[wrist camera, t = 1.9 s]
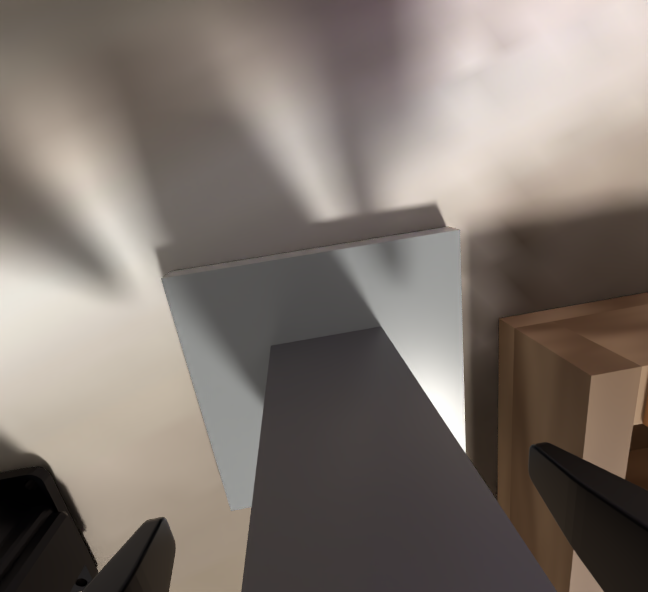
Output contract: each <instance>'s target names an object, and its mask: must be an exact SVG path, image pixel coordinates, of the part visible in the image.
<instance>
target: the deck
mask: <svg viewBox="0 0 648 592" xmlns="http://www.w3.org/2000/svg"><path fill="white" fill-rule="evenodd" d="M161 280H162V283H163V286H164V290H165V293H166V296H167V300H168V303H169V306H170V310H171V313H172V316H173V320H174V323H175V326H176V329H177V333H178V336H179V339H180V343H181V346H182V349H183V353H184V356H185V359H186V363H187V366H188V369H189V373H190V376H191V379H192V383H193V386H194V389H195V393H196V396H197V399H198V403H199V406H200V409H201V413H202V416H203V419H204V423H205V426H206V429H207V432H208V436H209V439H210V442H211V446H212V449H213V452H214V456H215V459H216V462H217V466H218V469H219V472H220V476H221V479H222V482H223V486H224V489H225V492H226V496H227V499H228V502H229V506H230V509H231V511H233V510H239V509H244V508H249V507H252V499H253V491H254V482H255V474H256V465H257V457H258V449H259V440H260V432H261V424H262V415H263V407H264V399H265V390H266V382H267V374H268V365H269V357H270V348H271V345H277V344H283V343H289V342H294V341H300V340H306V339H312V338H317V337H323V336H329V335H335V334H340V333H346V332H352V331H357V330H363V329H369V328H375V327H380V326H381V327H382V328H383V330H384V331H385V333H386V334H387V336H388V337H389V339H390V340H391V342H392V343H393V345H394V346H395V348H396V349H397V351H398V352H399V354H400V355H401V357H402V358H403V360H404V361H405V363H406V364H407V366H408V367H409V369H410V370H411V372H412V373H413V375H414V376H415V378H416V379H417V381H418V382H419V384H420V385H421V387H422V388H423V390H424V391H425V393H426V394H427V396H428V397H429V399H430V400H431V402H432V404H433V405H434V407H435V408H436V410H437V411H438V413H439V414H440V416H441V417H442V419H443V420H444V422H445V423H446V425H447V426H448V428H449V429H450V431H451V432H452V434H453V435H454V437H455V438H456V440H457V441H458V443H459V444H460V446H461V447H462V449H463V450H464V452H465V453H466V443H465V405H464V366H463V327H462V288H461V250H460V230H459V229H455V228H451V227H441V228H435V229H429V230H423V231H417V232H411V233H405V234H398V235H392V236H386V237H380V238H374V239H368V240H361V241H355V242H349V243H343V244H337V245H331V246H325V247H318V248H312V249H306V250H300V251H294V252H288V253H281V254H275V255H269V256H263V257H257V258H251V259H245V260H238V261H232V262H226V263H220V264H214V265H208V266H201V267H195V268H189V269H183V270H177V271H171V272H170V273H168V274H167V275H165V276H164V277H163V278H161Z"/></svg>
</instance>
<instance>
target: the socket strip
mask: <svg viewBox="0 0 648 592" xmlns="http://www.w3.org/2000/svg"><path fill="white" fill-rule="evenodd" d="M542 442H548V443H551V444H553V445H555V446H557V447H559V448H561V449H563V450H565V451H568V452H570V453H572V454H574V455H576V456H578V457H580V458H582V459H584V460H586V461H588V462H590V463H592V464H594V465H596V466H598V467H601V468H603V469H605V470H607V471H609V472H611V473H613V474H615V475H617V476H619V477H621V478H623V479H625V480H627V481H629V482H631V483H634V484H636V485H638V486H640V487H642V488H644V489H646V490H648V292H647V293H641V294H635V295H630V296H624V297H618V298H613V299H607V300H601V301H596V302H590V303H584V304H579V305H573V306H567V307H562V308H556V309H550V310H545V311H539V312H533V313H527V314H522V315H516V316H510V317H505V318H499V388H498V495H497V502H498V503H499V505H500V506H501V508H502V509H503V511H504V512H505V514H506V515H507V517H508V518H509V520H510V521H511V523H512V524H513V526H514V527H515V529H516V530H517V532H518V533H519V535H520V536H521V538H522V539H523V541H524V542H525V544H526V545H527V547H528V548H529V550H530V551H531V553H532V554H533V556H534V557H535V559H536V560H537V562H538V563H539V565H540V566H541V568H542V569H543V571H544V572H545V574H546V575H547V577H548V578H549V580H550V581H551V583H552V584H553V586H554V587H555V589H556V591H557V592H604V591H603V590H602V589H601V587H600V586H599V584H598V583H597V582H596V580H595V579H594V577H593V576H592V575H591V573H590V572H589V571H588V569H587V568H586V566H585V565H584V564H583V562H582V561H581V559H580V558H579V557H578V555H577V554H576V552H575V551H574V550H573V548H572V547H571V545H570V544H569V542H568V540H567V539H566V537H565V536H564V534H563V532H562V531H561V529H560V527H559V526H558V524H557V522H556V521H555V519H554V517H553V516H552V514H551V512H550V511H549V509H548V507H547V506H546V504H545V502H544V501H543V499H542V497H541V496H540V494H539V493H538V491H537V489H536V488H535V486H534V484H533V483H532V481H531V479H530V476H529V472H528V463H529V448H530V446H531V445H532V444H537V443H542Z"/></svg>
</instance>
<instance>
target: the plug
mask: <svg viewBox="0 0 648 592" xmlns="http://www.w3.org/2000/svg"><path fill="white" fill-rule="evenodd" d="M241 592H557V591H556V589H555V587H554V586H553V584H552V583H551V581H550V580H549V578H548V577H547V575H546V574H545V572H544V571H543V569H542V568H541V566H540V565H539V563H538V562H537V560H536V559H535V557H534V556H533V554H532V553H531V551H530V550H529V548H528V547H527V545H526V544H525V542H524V541H523V539H522V538H521V536H520V535H519V533H518V532H517V530H516V529H515V527H514V526H513V524H512V523H511V521H510V520H509V518H508V517H507V515H506V514H505V512H504V511H503V509H502V508H501V506H500V505H499V503H498V502H497V500H496V499H495V497H494V495H493V494H492V492H491V491H490V489H489V488H488V486H487V485H486V483H485V482H484V480H483V479H482V477H481V476H480V474H479V473H478V471H477V470H476V468H475V467H474V465H473V464H472V462H471V461H470V459H469V458H468V456H467V455H466V453H465V452H464V450H463V449H462V447H461V446H460V444H459V443H458V441H457V440H456V438H455V437H454V435H453V434H452V432H451V431H450V429H449V428H448V426H447V425H446V423H445V422H444V420H443V419H442V417H441V416H440V414H439V413H438V411H437V410H436V408H435V407H434V405H433V404H432V402H431V400H430V399H429V397H428V396H427V394H426V393H425V391H424V390H423V388H422V387H421V385H420V384H419V382H418V381H417V379H416V378H415V376H414V375H413V373H412V372H411V370H410V369H409V367H408V366H407V364H406V363H405V361H404V360H403V358H402V357H401V355H400V354H399V352H398V351H397V349H396V348H395V346H394V345H393V343H392V342H391V340H390V339H389V337H388V336H387V334H386V333H385V331H384V330H383V328H382V327H381V326H380V327H375V328H369V329H363V330H357V331H352V332H346V333H340V334H335V335H329V336H323V337H317V338H312V339H306V340H300V341H294V342H289V343H283V344H277V345H271V348H270V357H269V365H268V374H267V382H266V390H265V399H264V407H263V415H262V424H261V432H260V440H259V449H258V457H257V465H256V474H255V482H254V491H253V499H252V507H251V516H250V524H249V532H248V541H247V549H246V557H245V566H244V574H243V582H242V591H241Z"/></svg>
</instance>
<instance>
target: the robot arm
mask: <svg viewBox="0 0 648 592" xmlns="http://www.w3.org/2000/svg"><path fill="white" fill-rule="evenodd" d="M528 472H529V476H530V479H531V481H532V483H533V484H534V486H535V488H536V489H537V491H538V493H539V494H540V496H541V497H542V499H543V501H544V502H545V504H546V506H547V507H548V509H549V511H550V512H551V514H552V516H553V517H554V519H555V521H556V522H557V524H558V526H559V527H560V529H561V531H562V532H563V534H564V536H565V537H566V539H567V540H568V542H569V544H570V545H571V547H572V548H573V550H574V551H575V552H576V554H577V555H578V557H579V558H580V559H581V561H582V562H583V564H584V565H585V566H586V568H587V569H588V571H589V572H590V573H591V575H592V576H593V577H594V579H595V580H596V582H597V583H598V584H599V586H600V587H601V589H602V590H603V591H604V592H648V490H646V489H644V488H642V487H640V486H638V485H636V484H634V483H631V482H629V481H627V480H625V479H623V478H621V477H619V476H617V475H615V474H613V473H611V472H609V471H607V470H605V469H603V468H601V467H598V466H596V465H594V464H592V463H590V462H588V461H586V460H584V459H582V458H580V457H578V456H576V455H574V454H572V453H570V452H568V451H565V450H563V449H561V448H559V447H557V446H555V445H553V444H551V443H548V442H542V443H537V444H532V445H531V446H530V448H529V463H528ZM175 549H176V547H175V540H174V538H173V535H172V532H171V530H170V527H169V524H168V522H167V520H166V518H164V517H160V518H154V519H149V520H147V521H145V522H144V523H143V524H142V525H141V526H140V528H139V529H138V530H137V531H136V532H135V533H134V534H133V535H132V536H131V538H130V539H129V540H128V541H127V542H126V543H125V544H124V545H123V546H122V548H121V549H120V550H119V551H118V552H117V553H116V554H115V555H114V556H113V558H112V559H111V560H110V561H109V562H108V563H107V564H106V565H105V566H104V567H103V569H102V570H101V571H100V572H99V573H98V570H97V568H96V566H95V564H94V562H93V560H92V558H91V556H90V554H89V552H88V550H87V548H86V546H85V544H84V542H83V539H82V537H81V535H80V533H79V531H78V529H77V527H76V525H75V523H74V521H73V519H72V517H71V515H70V513H69V511H68V509H67V507H66V505H65V503H64V501H63V499H62V497H61V495H60V493H59V491H58V489H57V486H56V484H55V482H54V480H53V478H52V476H51V474H50V473H49V472H48V471H47V470H46V469H44V468H41V467H30V468H24V469H19V470H14V471H8V472H3V473H0V592H80V591H82V592H169V587H170V581H171V575H172V569H173V563H174V557H175Z"/></svg>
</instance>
